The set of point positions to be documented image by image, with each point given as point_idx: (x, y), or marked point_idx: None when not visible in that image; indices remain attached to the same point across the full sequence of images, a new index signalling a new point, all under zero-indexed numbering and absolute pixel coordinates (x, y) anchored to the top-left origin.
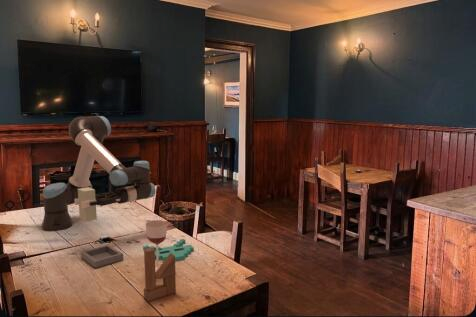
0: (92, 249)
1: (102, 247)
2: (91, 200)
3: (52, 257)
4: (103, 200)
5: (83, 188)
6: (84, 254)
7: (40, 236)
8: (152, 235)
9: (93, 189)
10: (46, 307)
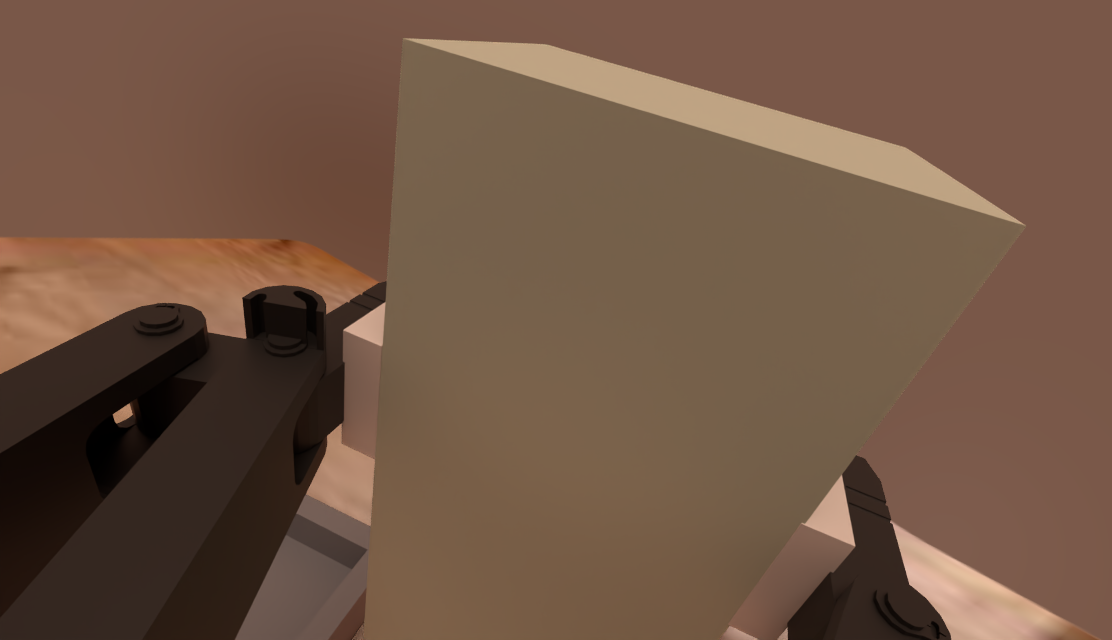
0: (331, 618)
1: None
2: None
3: None
4: (82, 334)
5: (873, 151)
6: (345, 514)
7: None
8: None
9: (460, 50)
10: (274, 251)
